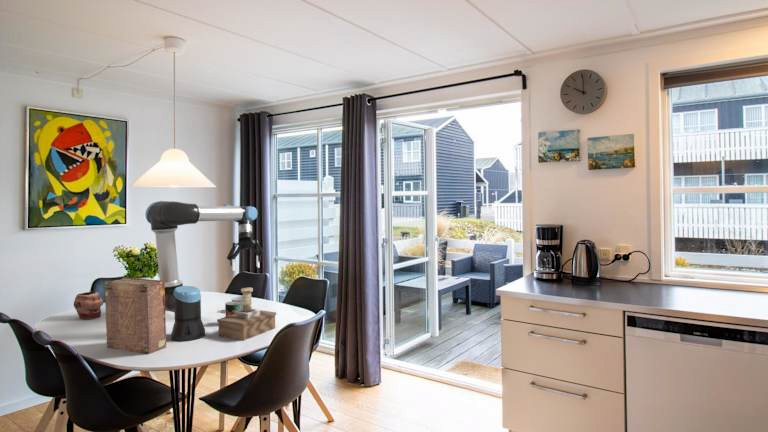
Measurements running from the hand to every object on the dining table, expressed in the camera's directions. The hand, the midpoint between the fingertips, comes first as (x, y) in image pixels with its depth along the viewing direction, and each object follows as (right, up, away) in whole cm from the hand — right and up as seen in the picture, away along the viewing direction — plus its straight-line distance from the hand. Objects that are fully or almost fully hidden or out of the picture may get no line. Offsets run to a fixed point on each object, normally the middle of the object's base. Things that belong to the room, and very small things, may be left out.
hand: (245, 269), depth 252 cm
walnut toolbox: (+8, -28, -23) cm, 37 cm away
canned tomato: (-4, -28, -8) cm, 29 cm away
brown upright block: (-35, -30, -45) cm, 65 cm away
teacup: (-8, -26, +20) cm, 34 cm away
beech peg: (+8, -20, -24) cm, 32 cm away
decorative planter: (-89, -28, +5) cm, 94 cm away
